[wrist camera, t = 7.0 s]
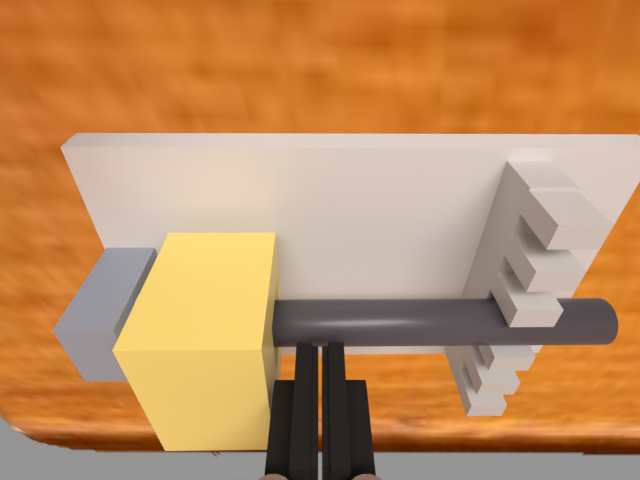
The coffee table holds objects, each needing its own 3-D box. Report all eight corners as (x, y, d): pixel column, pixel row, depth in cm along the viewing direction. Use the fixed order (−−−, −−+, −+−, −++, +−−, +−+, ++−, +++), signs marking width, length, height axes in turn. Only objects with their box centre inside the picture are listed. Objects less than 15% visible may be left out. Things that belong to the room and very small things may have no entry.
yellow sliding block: (275, 232, 15) (261, 349, 11) (283, 333, 18) (275, 449, 14) (168, 232, 15) (112, 350, 10) (198, 334, 18) (165, 450, 14)
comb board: (637, 134, 15) (772, 217, 10) (528, 334, 22) (581, 432, 18) (76, 132, 14) (-25, 218, 10) (157, 337, 22) (119, 437, 17)
